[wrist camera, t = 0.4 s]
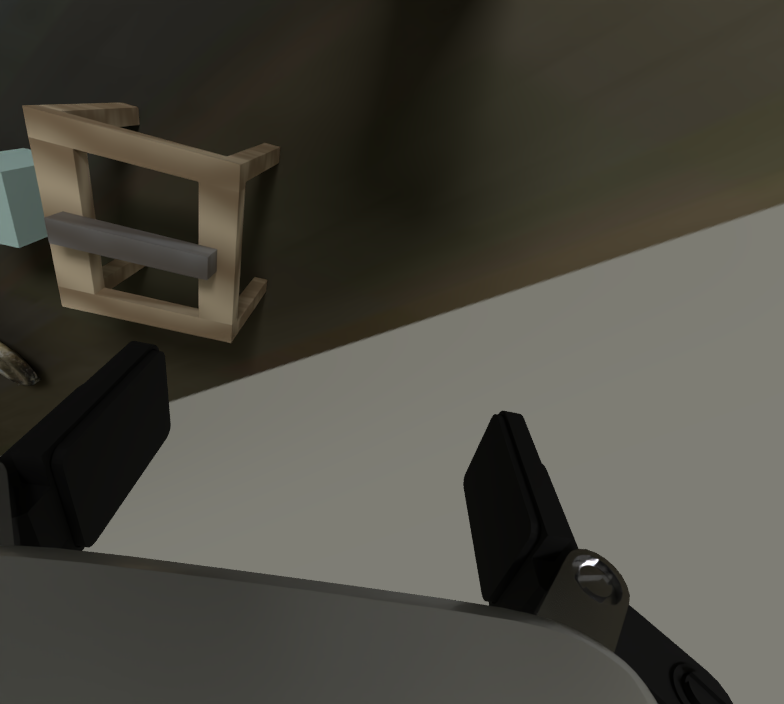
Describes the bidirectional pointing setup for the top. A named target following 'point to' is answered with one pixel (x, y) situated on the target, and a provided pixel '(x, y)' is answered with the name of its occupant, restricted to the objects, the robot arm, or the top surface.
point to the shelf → (160, 155)
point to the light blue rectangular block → (20, 200)
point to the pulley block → (16, 367)
